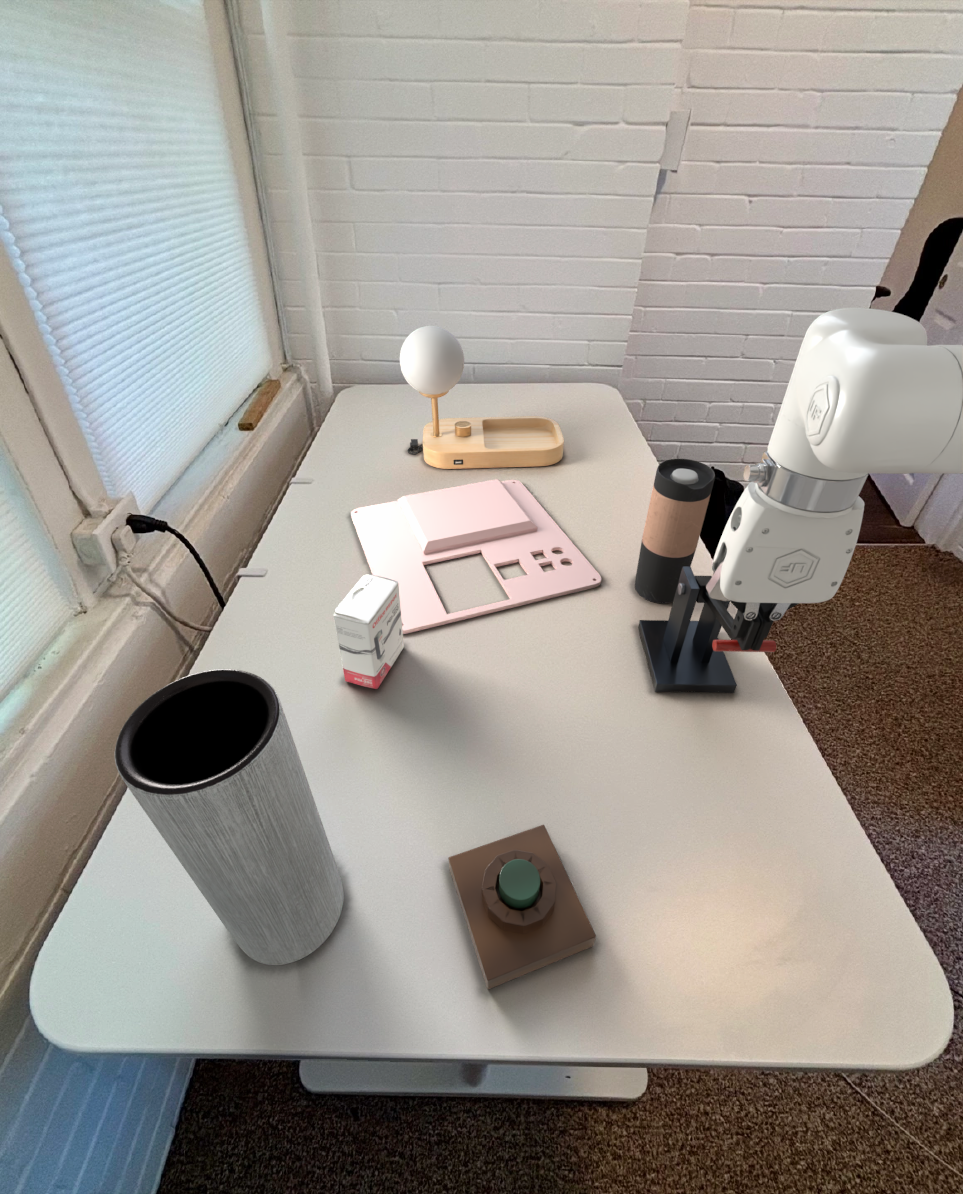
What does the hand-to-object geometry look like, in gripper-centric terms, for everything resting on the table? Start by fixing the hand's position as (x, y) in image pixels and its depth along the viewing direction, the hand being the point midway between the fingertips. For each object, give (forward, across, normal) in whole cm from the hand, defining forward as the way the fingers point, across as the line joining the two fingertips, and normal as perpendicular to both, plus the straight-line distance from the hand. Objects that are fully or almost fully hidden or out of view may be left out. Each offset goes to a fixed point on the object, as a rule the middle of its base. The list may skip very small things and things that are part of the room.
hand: (745, 640), depth 60 cm
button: (+12, -23, -20) cm, 33 cm away
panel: (+16, -30, +38) cm, 51 cm away
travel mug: (+16, 0, +27) cm, 32 cm away
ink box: (+16, -41, +11) cm, 45 cm away
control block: (+15, -23, -20) cm, 34 cm away
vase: (+16, -44, -20) cm, 51 cm away
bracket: (+16, 0, +12) cm, 20 cm away
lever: (+3, 0, +6) cm, 7 cm away
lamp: (+16, -28, +74) cm, 81 cm away
